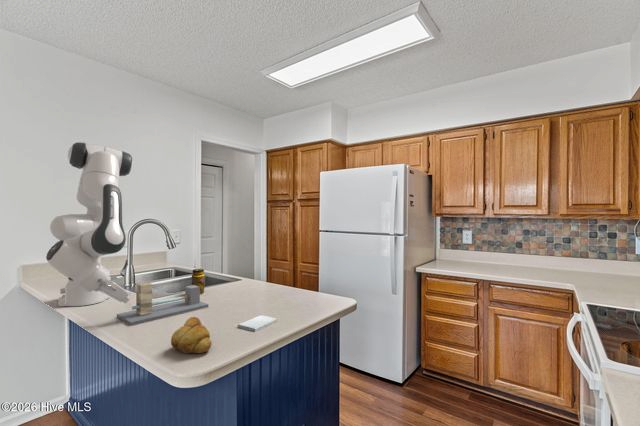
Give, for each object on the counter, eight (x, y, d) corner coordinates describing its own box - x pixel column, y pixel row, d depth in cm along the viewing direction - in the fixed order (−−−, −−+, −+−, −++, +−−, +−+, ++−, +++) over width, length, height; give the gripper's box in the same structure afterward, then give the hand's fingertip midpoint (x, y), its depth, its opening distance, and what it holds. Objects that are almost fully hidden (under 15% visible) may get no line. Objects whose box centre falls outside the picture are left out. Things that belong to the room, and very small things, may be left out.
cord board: (116, 317, 120) (117, 295, 120) (191, 301, 143) (192, 282, 143) (130, 325, 111) (131, 302, 111) (208, 307, 134) (208, 287, 134)
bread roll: (218, 350, 92) (219, 322, 92) (187, 362, 85) (187, 332, 85) (196, 338, 100) (196, 313, 101) (165, 348, 93) (165, 321, 93)
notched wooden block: (136, 312, 121) (136, 283, 121) (147, 310, 124) (147, 282, 124) (140, 315, 118) (141, 285, 118) (151, 312, 121) (152, 283, 121)
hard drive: (255, 328, 107) (277, 318, 118) (237, 324, 111) (260, 314, 122) (255, 333, 107) (277, 322, 118) (237, 329, 111) (260, 318, 122)
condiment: (206, 294, 155) (206, 269, 155) (188, 296, 151) (188, 271, 151) (203, 291, 162) (203, 267, 162) (185, 293, 157) (185, 269, 157)
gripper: (112, 274, 104) (144, 298, 111) (93, 267, 117) (123, 289, 124) (96, 290, 100) (130, 314, 108) (79, 281, 113) (110, 302, 121)
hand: (126, 300), depth 116 cm, fingers closed
